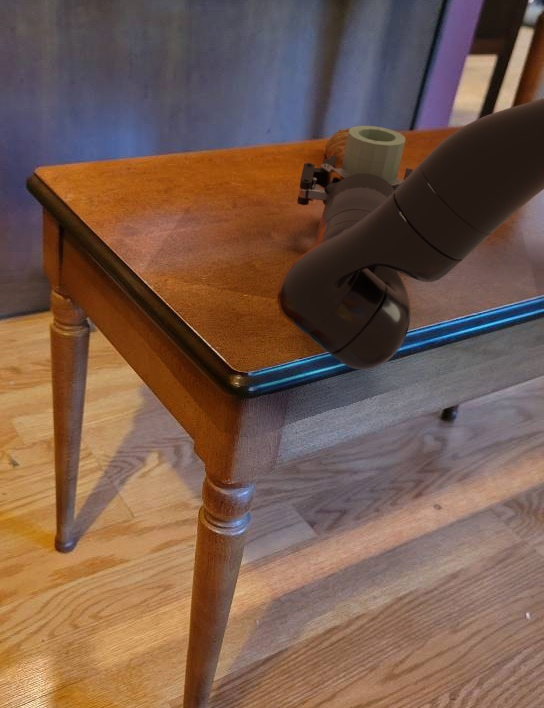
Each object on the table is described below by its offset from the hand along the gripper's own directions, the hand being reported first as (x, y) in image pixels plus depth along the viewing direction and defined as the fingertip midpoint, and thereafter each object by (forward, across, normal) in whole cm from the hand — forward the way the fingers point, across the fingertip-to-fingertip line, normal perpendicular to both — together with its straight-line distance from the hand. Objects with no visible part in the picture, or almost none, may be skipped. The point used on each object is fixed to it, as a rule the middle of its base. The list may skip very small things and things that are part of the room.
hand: (369, 170), depth 84 cm
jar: (-1, 0, +7) cm, 7 cm away
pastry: (+22, +3, +7) cm, 23 cm away
